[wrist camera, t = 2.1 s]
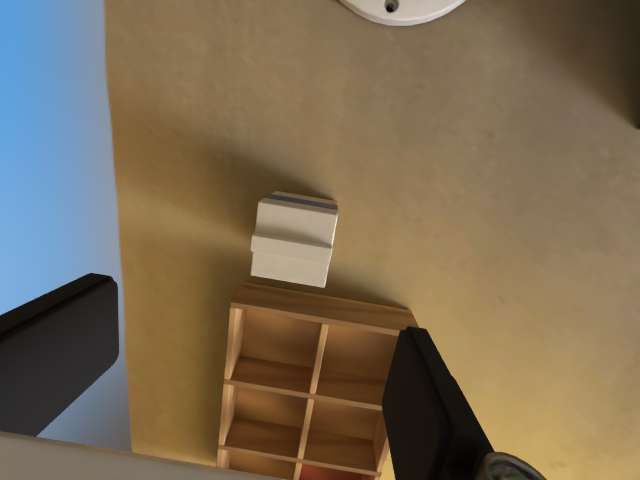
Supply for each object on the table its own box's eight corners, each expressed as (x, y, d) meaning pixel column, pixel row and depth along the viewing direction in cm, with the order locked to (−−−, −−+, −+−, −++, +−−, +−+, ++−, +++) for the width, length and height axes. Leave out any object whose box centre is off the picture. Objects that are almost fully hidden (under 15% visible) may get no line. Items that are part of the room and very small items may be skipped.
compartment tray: (244, 281, 25) (230, 301, 22) (410, 309, 25) (423, 334, 22) (226, 466, 31) (212, 505, 28) (361, 489, 31) (364, 531, 28)
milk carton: (275, 190, 23) (254, 202, 17) (337, 200, 23) (338, 216, 17) (267, 249, 25) (246, 280, 19) (327, 259, 24) (324, 293, 19)
